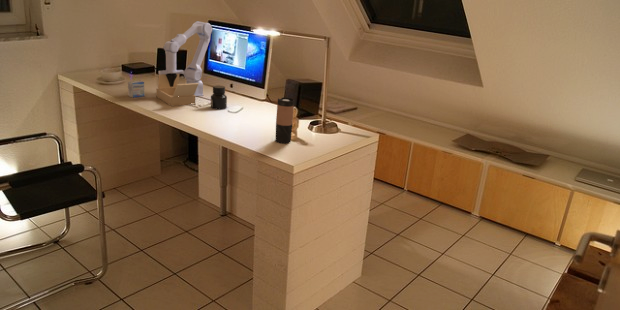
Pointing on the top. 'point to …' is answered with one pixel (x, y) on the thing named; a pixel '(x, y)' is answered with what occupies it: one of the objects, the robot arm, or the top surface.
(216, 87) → the ink bottle
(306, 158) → the top surface
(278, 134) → the travel mug
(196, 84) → the flap
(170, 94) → the carton
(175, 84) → the flap
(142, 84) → the medicine box
